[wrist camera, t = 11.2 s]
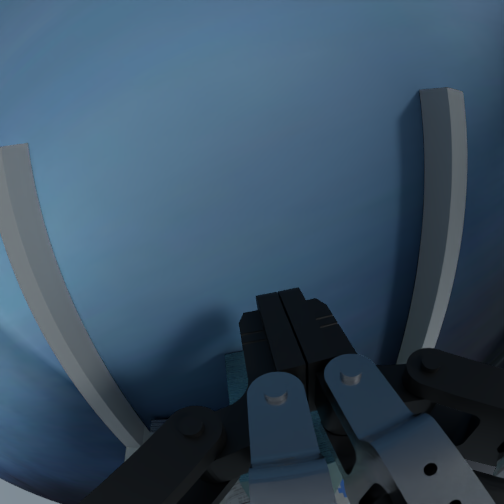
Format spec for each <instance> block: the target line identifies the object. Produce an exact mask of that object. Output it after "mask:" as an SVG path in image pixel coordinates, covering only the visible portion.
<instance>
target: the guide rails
mask: <svg viewBox="0 0 504 504" xmlns="http://www.w3.org/2000/svg"><path fill="white" fill-rule="evenodd" d="M419 91H420V99H421V109H422V120H423V134H424V162H425V179H424V208H423V222H422V234H421V244H420V252H419V260H418V267H417V274H416V280H415V286H414V291H413V297H412V302H411V307H410V312H409V316H408V321H407V325H406V329H405V333H404V337H403V341H402V345H401V349H400V352H399V356H398V359H397V363H396V365H397V364H406V363H407V360H408V358H409V356H410V355H411V354H412V353H413V352H414V351H416V350H419V349H422V348H434V347H435V344H436V341H437V338H438V335H439V332H440V329H441V326H442V323H443V319H444V316H445V313H446V309H447V305H448V302H449V298H450V294H451V290H452V285H453V281H454V277H455V272H456V267H457V262H458V256H459V251H460V244H461V238H462V231H463V223H464V213H465V203H466V188H467V130H466V115H465V105H464V96H463V92H462V91H459V90H455V89H452V88H448V87H444V88H433V89H423V90H419ZM0 233H1V236H2V240H3V243H4V246H5V249H6V252H7V255H8V257H9V260H10V263H11V266H12V268H13V271H14V273H15V276H16V278H17V281H18V283H19V286H20V288H21V290H22V293H23V295H24V297H25V299H26V301H27V303H28V306H29V308H30V310H31V312H32V314H33V316H34V318H35V320H36V322H37V324H38V326H39V327H40V329H41V331H42V333H43V335H44V337H45V338H46V340H47V342H48V344H49V345H50V347H51V349H52V350H53V352H54V354H55V355H56V357H57V359H58V360H59V362H60V363H61V365H62V367H63V368H64V370H65V371H66V373H67V374H68V376H69V377H70V379H71V380H72V381H73V383H74V384H75V386H76V387H77V389H78V390H79V391H80V393H81V394H82V395H83V397H84V398H85V399H86V401H87V402H88V403H89V405H90V406H91V407H92V408H93V410H94V411H95V412H96V413H97V415H98V416H99V417H100V418H101V419H102V421H103V422H104V423H105V424H106V425H107V427H108V428H109V429H110V430H111V431H112V432H113V433H114V434H115V436H116V437H117V438H118V439H119V440H120V441H121V442H122V443H123V444H124V445H125V446H126V447H131V448H139V447H140V446H142V444H143V435H144V428H145V425H144V424H143V422H142V421H141V420H140V418H139V417H138V415H137V414H136V413H135V411H134V410H133V408H132V407H131V405H130V404H129V403H128V401H127V400H126V398H125V397H124V395H123V394H122V392H121V391H120V389H119V387H118V386H117V384H116V383H115V381H114V379H113V378H112V376H111V375H110V373H109V371H108V370H107V368H106V366H105V364H104V363H103V361H102V359H101V357H100V356H99V354H98V352H97V350H96V348H95V347H94V345H93V343H92V341H91V339H90V337H89V335H88V333H87V331H86V329H85V327H84V325H83V323H82V321H81V319H80V317H79V315H78V313H77V310H76V308H75V306H74V304H73V301H72V299H71V297H70V294H69V292H68V290H67V287H66V285H65V282H64V280H63V277H62V275H61V272H60V269H59V267H58V264H57V261H56V258H55V255H54V253H53V250H52V247H51V243H50V240H49V237H48V234H47V231H46V227H45V224H44V220H43V216H42V213H41V209H40V205H39V201H38V197H37V192H36V188H35V183H34V178H33V173H32V167H31V162H30V155H29V149H28V143H25V144H17V145H10V146H3V147H0Z"/></svg>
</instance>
